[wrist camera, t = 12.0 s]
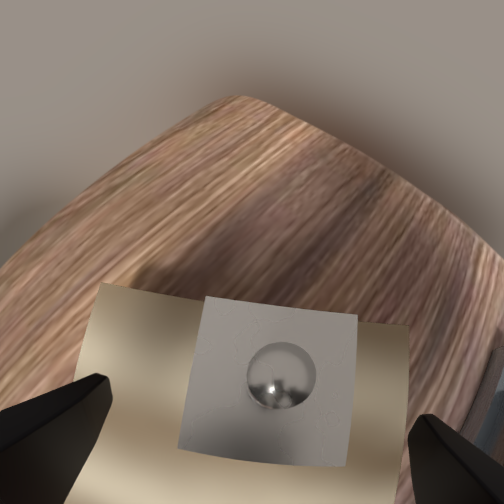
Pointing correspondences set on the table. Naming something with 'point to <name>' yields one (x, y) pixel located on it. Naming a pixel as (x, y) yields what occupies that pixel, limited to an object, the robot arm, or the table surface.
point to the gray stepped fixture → (489, 411)
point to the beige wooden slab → (172, 406)
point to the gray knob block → (271, 384)
